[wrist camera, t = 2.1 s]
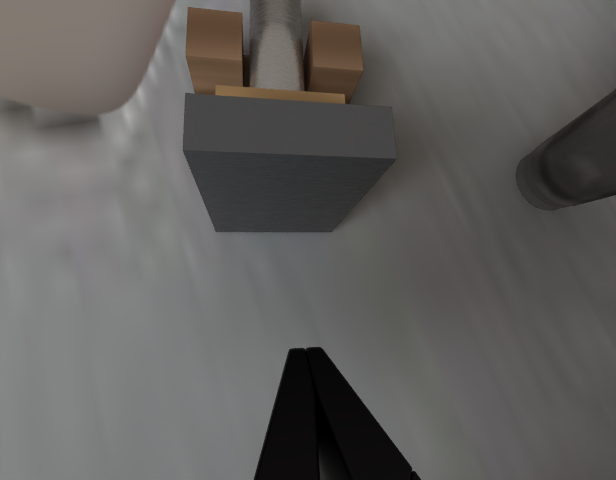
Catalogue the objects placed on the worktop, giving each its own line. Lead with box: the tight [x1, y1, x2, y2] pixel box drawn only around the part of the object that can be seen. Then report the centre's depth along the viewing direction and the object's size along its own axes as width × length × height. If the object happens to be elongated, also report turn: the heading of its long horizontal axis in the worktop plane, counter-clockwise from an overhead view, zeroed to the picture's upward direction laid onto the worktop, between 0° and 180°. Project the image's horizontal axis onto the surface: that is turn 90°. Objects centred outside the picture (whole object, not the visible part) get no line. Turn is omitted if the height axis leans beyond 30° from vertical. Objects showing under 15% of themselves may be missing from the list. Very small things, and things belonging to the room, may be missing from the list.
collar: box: [215, 85, 345, 104], centre depth 18 cm, size 2×6×6 cm, turn 92°
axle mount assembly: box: [183, 0, 397, 232], centre depth 17 cm, size 14×7×10 cm, turn 2°
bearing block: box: [186, 7, 364, 104], centre depth 21 cm, size 3×9×5 cm, turn 92°
